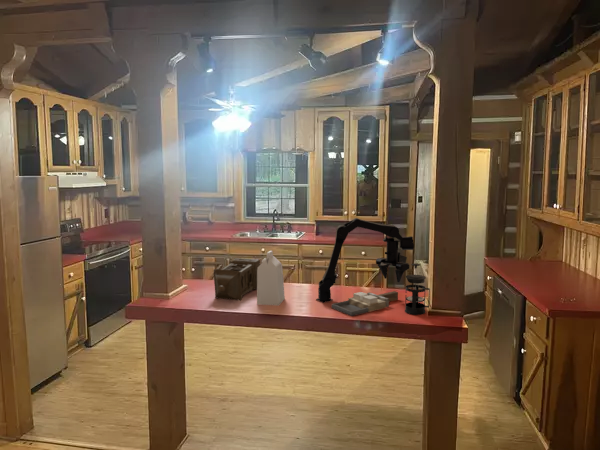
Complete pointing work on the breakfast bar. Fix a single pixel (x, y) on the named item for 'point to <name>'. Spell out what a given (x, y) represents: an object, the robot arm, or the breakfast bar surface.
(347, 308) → the box
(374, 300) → the tile
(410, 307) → the french press
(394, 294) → the scraper
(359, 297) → the tile
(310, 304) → the breakfast bar surface
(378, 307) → the deck
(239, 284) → the ornamental box
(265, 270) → the milk
